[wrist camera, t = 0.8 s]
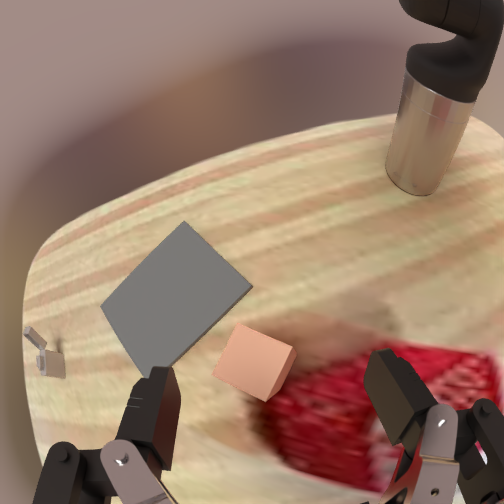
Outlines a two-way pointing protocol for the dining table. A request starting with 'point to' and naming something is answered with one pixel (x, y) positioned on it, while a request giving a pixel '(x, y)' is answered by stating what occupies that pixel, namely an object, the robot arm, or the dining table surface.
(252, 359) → the block
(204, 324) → the mat
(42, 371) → the lighter
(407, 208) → the dining table surface
